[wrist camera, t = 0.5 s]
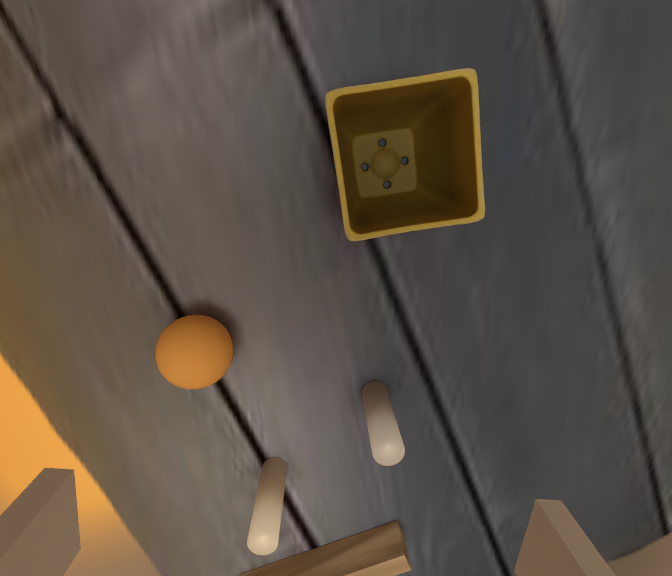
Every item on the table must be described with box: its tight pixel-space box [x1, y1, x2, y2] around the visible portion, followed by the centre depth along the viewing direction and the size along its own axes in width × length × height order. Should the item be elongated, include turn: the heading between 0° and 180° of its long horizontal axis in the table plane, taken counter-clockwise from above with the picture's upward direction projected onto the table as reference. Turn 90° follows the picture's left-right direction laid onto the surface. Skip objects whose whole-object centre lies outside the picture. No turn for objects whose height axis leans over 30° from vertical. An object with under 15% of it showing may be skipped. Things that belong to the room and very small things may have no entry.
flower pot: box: [325, 68, 485, 241], centre depth 28 cm, size 9×9×9 cm
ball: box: [155, 315, 233, 389], centre depth 33 cm, size 6×6×6 cm
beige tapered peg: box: [362, 381, 405, 466], centre depth 34 cm, size 2×2×8 cm
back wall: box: [240, 520, 411, 576], centre depth 41 cm, size 2×18×4 cm, turn 112°
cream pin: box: [247, 457, 287, 555], centre depth 36 cm, size 2×2×8 cm
